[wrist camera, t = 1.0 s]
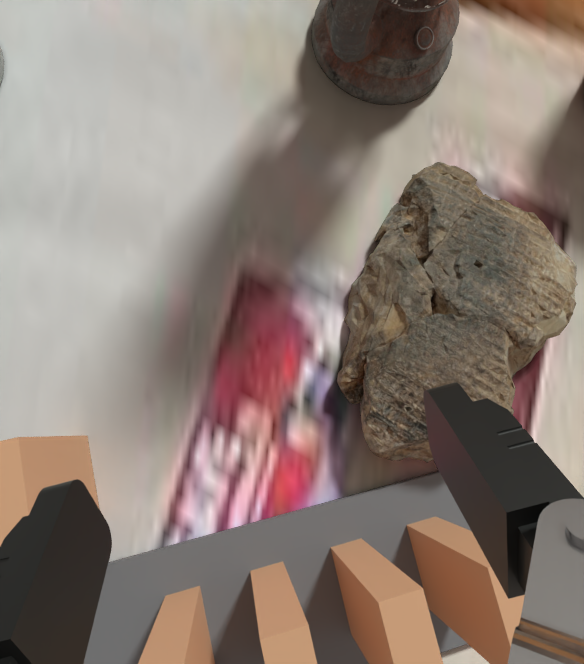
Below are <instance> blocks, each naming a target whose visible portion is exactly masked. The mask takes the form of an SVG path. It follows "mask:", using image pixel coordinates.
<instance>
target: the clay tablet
mask: <svg viewBox="0 0 584 664" xmlns="http://www.w3.org/2000/svg"><path fill="white" fill-rule="evenodd" d="M476 181H477V180H476V179H475V178H474V177H473V176H472V175H471V174H469V173H468V172H466V171H464V170H462V169H460V168H458V167H456V166H449V165H447V164H445V163H441V162H437V163H435V164H433V165H432V166H429V167H426V168H424V169H423V170H421V171H420V172H419V173H417V174H415V175H412V179H411V180H410V181H409V183H408V184H407V185H406V187H405V189H404V191H403V193H402V196H401V201H400V204H398V203H397V204H396V205H395V206H394V207H393V208H392V209H391V210H390V212H389V214H388V215H387V217H386V219H385V221H384V222H383V224H382V226H381V228H380V230H379V231H378V233H377V236H376V238H375V240H374V241H377V240H380V242H379V244H378V246H377V247H376V249H375V250H374V252H373V253H372V254H370V255H369V259H368V260H367V262H366V264H365V267H364V271H363V274H362V275H361V276H360V277H358V278H357V280H356V281H355V282H354V283H353V284H352V287H351V292H350V295H349V298H348V313H347V315H346V317H345V319H344V321H345V322H346V324H347V325H348V327H349V329H350V335H349V339H348V343H347V346H346V348H345V351H344V353H343V365H342V369H341V370H340V372H339V373H338V378H337V383H338V385H339V387H340V389H341V391H342V393H343V394H344V395H345V397H346V398H347V400H348V401H349V402H350V403H351V404H358V403H361V406H360V413H361V423H362V428H363V433H364V438H365V441H366V443H367V445H368V447H369V449H370V451H372V452H373V453H374V454H376V455H377V456H378V457H384V458H387V459H390V460H393V461H396V460H402V459H404V458H408V457H409V458H413V459H418V460H424V461H426V462H427V463H428V462H429V461H431V460H433V456H432V453H431V450H430V445H429V440H428V432H427V423H426V415H425V407H424V398H423V393H424V391H425V390H428V389H431V388H435V387H439V386H443V385H447V384H451V383H455V382H457V383H458V384H460V386H461V387H462V388H463V389H464V391H465V392H466V393H467V395H468V396H469V397H470V399H471V400H472V401H477V400H481V399H485V398H488V399H490V400H491V401H493V402H495V403H497V404H499V405H501V406H502V407H504V408H506V409H508V410H509V411H510V413H511V414H512V415H513V411H514V410H513V408H512V407H511V406H512V402H513V399H514V394H515V386H514V383H513V381H512V378H513V376H514V375H515V373H516V372H517V371H518V370H520V369H522V368H523V367H525V366H526V365H527V364H528V363H530V362H531V360H532V358H533V357H534V355H535V354H536V353H537V352H538V351H539V350H540V349H541V348H542V347H543V346H544V344H545V342H546V340H547V339H548V338H551V337H554V336H558V335H560V333H561V332H562V331H563V329H564V328H565V327H566V326H567V324H568V323H569V321H570V318H571V316H572V314H573V310H574V308H575V305H576V302H575V293H574V290H575V287H576V285H577V282H576V280H575V278H576V264H575V262H574V261H573V260H572V259H571V258H570V257H569V256H568V255H567V254H566V253H565V252H564V251H563V250H562V249H561V248H560V246H559V245H558V244H557V243H556V242H555V241H554V238H553V236H552V235H551V233H550V232H549V230H548V229H547V228H546V226H545V225H544V224H543V222H542V221H540V219H539V218H538V217H537V216H536V215H535V213H532V212H525V211H522V209H520V208H518V207H515V206H513V205H511V204H510V203H509V202H507V201H505V200H503V199H500V200H495V199H492V198H490V197H489V196H487V195H486V194H485V195H483V193H482V192H481V190H480V189H479V188H478V187H477V186H476V185H475V184H476Z"/></svg>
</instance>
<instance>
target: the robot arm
mask: <svg viewBox="0 0 584 664" xmlns="http://www.w3.org/2000/svg"><path fill="white" fill-rule="evenodd" d="M3 74H4V59H3V54H2V50H1V48H0V84H1V81H2V78H3ZM423 398H424V407H425V415H426V423H427V432H428V440H429V445H430V450H431V453H432V456H433V459H434V462H435V464H436V466H437V468H438V470H439V472H440V474H441V476H442V478H443V479H444V481H445V483H446V485H447V487H448V489H449V490H450V492H451V494H452V496H453V498H454V500H455V502H456V503H457V505H458V507H459V509H460V511H461V513H462V514H463V516H464V518H465V520H466V522H467V524H468V525H469V527H470V529H471V531H472V533H473V535H474V536H475V538H476V540H477V542H478V544H479V546H480V548H481V549H482V551H483V553H484V555H485V557H486V559H487V560H488V562H489V564H490V566H491V568H492V570H493V571H494V573H495V575H496V577H497V579H498V581H499V582H500V584H501V586H502V588H503V590H504V592H505V594H506V595H507V597H508V599H510V598H514V597H518V596H522V595H525V596H524V602H523V608H522V613H521V618H520V623H519V626H516V628H515V631H514V634H513V638H512V643H511V648H510V653H509V659H508V664H584V498H583V497H582V496H581V494H580V493H579V492H578V491H577V490H576V489H575V487H574V486H573V485H572V484H571V483H570V482H569V480H568V479H567V478H566V477H565V476H564V475H563V473H562V472H561V471H560V470H559V469H558V468H557V466H556V465H555V464H554V463H553V462H552V461H551V459H550V458H549V457H548V456H547V455H546V454H545V452H544V451H543V450H542V449H541V448H540V447H539V445H538V444H537V443H534V440H533V438H532V437H531V436H530V435H529V434H528V432H527V431H526V430H525V429H523V428H522V425H521V424H520V423H519V422H518V421H517V420H516V418H515V417H514V416H513V415H512V414H511V413H510V411H509V410H508V409H506V408H504V407H502V406H501V405H499V404H497V403H495V402H493V401H491V400H490V399H488V398H485V399H481V400H477V401H472V400H471V399H470V397H469V396H468V395H467V393H466V392H465V391H464V389H463V388H462V387H461V386H460V384H458V383H457V382H455V383H451V384H447V385H443V386H439V387H435V388H431V389H428V390H425V391H424V393H423ZM111 547H112V540H111V533H110V529H109V526H108V524H107V522H106V520H105V518H104V517H103V515H102V513H101V511H100V510H99V508H98V506H97V505H96V503H95V501H94V500H93V498H92V496H91V494H90V493H89V491H88V489H87V488H86V486H85V485H84V483H83V482H82V481H81V480H78V479H76V480H72V481H68V482H64V483H60V484H56V485H52V486H48V487H45V488H43V489H42V490H41V491H40V492H39V494H38V496H37V498H36V501H35V503H34V505H33V507H32V509H31V512H30V514H29V515H28V516H24V517H22V518H21V519H20V521H19V522H18V523H17V524H16V525H15V527H14V528H13V529H12V530H11V531H10V532H9V534H8V535H7V536H6V537H5V538H4V540H3V542H2V544H1V546H0V664H83V663H84V659H85V655H86V651H87V647H88V643H89V639H90V635H91V631H92V627H93V623H94V619H95V615H96V611H97V606H98V602H99V598H100V594H101V590H102V586H103V582H104V578H105V574H106V570H107V566H108V562H109V558H110V554H111Z"/></svg>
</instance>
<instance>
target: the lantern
mask: <svg viewBox="0 0 584 664" xmlns="http://www.w3.org/2000/svg"><path fill="white" fill-rule="evenodd" d="M459 13H460V12H459V3H458V0H320V2H319V4H318V7H317V9H316V11H315V16H314V21H313V27H312V45H313V49H314V52H315V56H316V58H317V60H318V62H319V64H320V66H321V68H322V69H323V70H324V72H325V73H326V74H327V76H328V77H329V78H330V79H331V80H332V81H333V82H334V83H335V84H336V85H337V86H338V87H340V88H341V89H343V90H344V91H346V92H347V93H349V94H350V95H352V96H354V97H357V98H359V99H362V100H364V101H367V102H372V103H376V104H387V105H394V104H402V103H407V102H410V101H413V100H416V99H418V98H420V97H422V96H423V95H425V94H427V93H428V92H429V91H430V90H431V89H432V88H433V87H434V86H435V85H437V83H438V81H439V80H440V78H441V77H442V75H443V74H444V72H445V70H446V69H447V67H448V64H449V61H450V58H451V55H452V46H453V42H452V38H453V36H454V34H455V32H456V29H457V26H458V23H459Z"/></svg>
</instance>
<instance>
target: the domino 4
mask: <svg viewBox="0 0 584 664" xmlns="http://www.w3.org/2000/svg"><path fill="white" fill-rule="evenodd" d="M330 548H331V552H332V556H333V560H334V564H335V568H336V573H337V577H338V581H339V585H340V589H341V593H342V598H343V602H344V606H345V610H346V614H347V618H348V623H349V627H350V631H351V635H352V636H353V638H354V640H355V641H356V643H357V645H358V646H359V648H360V650H361V651H362V653H363V655H364V656H365V658H366V660H367V661H368V663H369V664H443V661H442V658H441V654H440V650H439V646H438V643H437V639H436V635H435V631H434V628H433V624H432V620H431V616H430V613H429V609H428V605H427V601H426V598H425V594H424V590H423V588H422V587H421V586H420V585H418V584H417V583H416V582H415V581H413V580H412V579H411V578H410V577H408V576H407V575H406V574H405V573H403V572H402V571H401V570H400V569H399V568H397V567H396V566H395V565H394V564H392V563H391V562H390V561H389V560H387V559H386V558H385V557H384V556H383V555H381V554H380V553H379V552H378V551H376V550H375V549H374V548H373V547H371V546H370V545H369V544H368V543H366V542H365V541H364V540H363V539H362V538H361V539H357V540H354V541H351V542H347V543H344V544H340V545H337V546H333V547H330Z"/></svg>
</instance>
